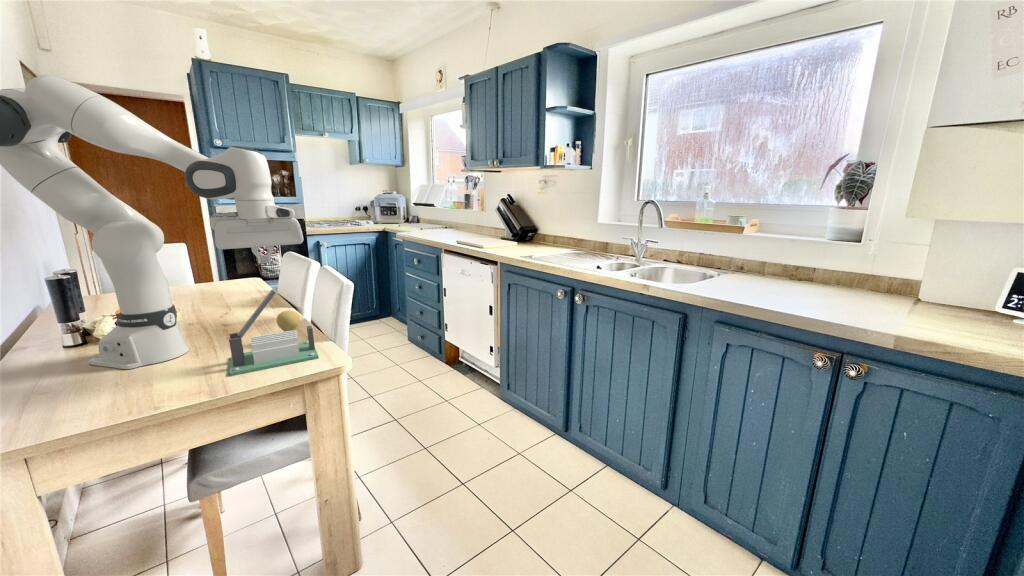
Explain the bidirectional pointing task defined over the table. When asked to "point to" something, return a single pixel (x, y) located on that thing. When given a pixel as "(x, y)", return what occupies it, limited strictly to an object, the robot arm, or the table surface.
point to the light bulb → (288, 321)
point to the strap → (256, 314)
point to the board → (273, 363)
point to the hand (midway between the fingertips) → (264, 262)
